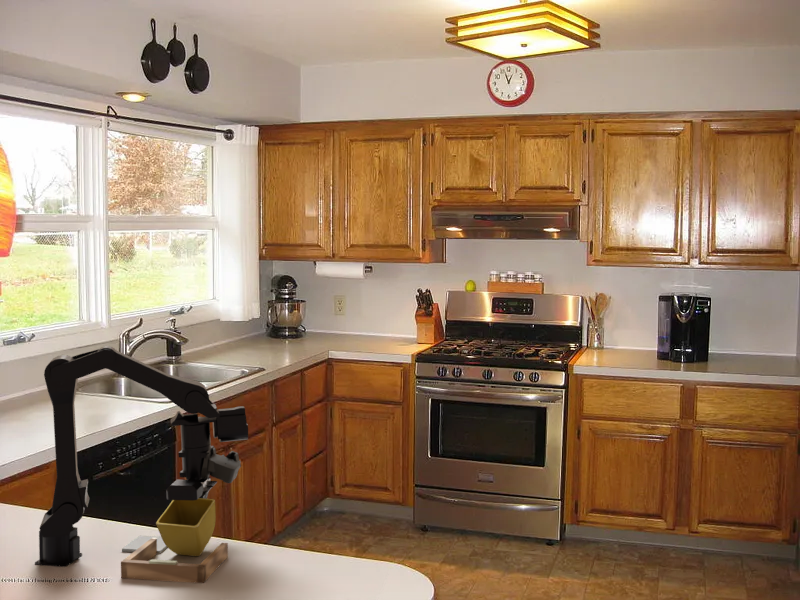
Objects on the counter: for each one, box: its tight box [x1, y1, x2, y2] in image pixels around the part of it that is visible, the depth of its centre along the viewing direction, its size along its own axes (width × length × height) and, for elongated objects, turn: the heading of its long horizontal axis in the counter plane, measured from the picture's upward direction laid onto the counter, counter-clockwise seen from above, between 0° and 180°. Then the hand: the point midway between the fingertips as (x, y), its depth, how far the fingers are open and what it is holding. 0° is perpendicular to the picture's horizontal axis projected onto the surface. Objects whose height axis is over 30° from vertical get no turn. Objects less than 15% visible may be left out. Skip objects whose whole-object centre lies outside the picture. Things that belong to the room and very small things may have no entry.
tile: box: [121, 535, 168, 555], centre depth 172 cm, size 8×8×1 cm
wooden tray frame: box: [120, 539, 229, 584], centre depth 160 cm, size 13×16×3 cm
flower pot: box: [155, 498, 217, 557], centre depth 166 cm, size 9×9×9 cm
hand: (199, 518), depth 172 cm, fingers closed
